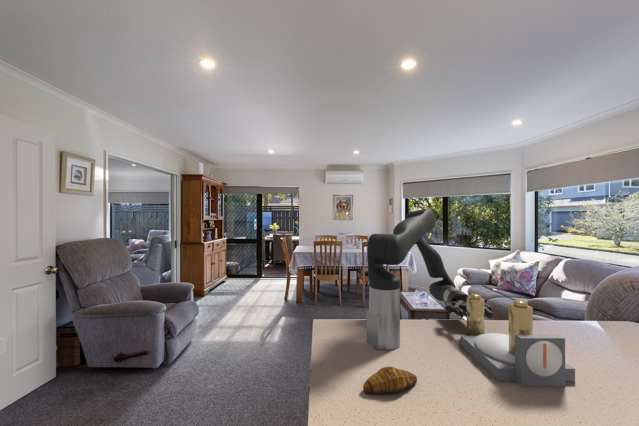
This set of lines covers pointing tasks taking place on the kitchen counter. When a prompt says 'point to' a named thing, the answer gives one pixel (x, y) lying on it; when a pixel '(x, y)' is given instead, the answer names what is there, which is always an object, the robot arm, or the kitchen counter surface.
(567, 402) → the kitchen counter surface
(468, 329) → the weight
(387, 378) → the croissant
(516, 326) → the weight
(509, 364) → the scale
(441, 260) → the robot arm
